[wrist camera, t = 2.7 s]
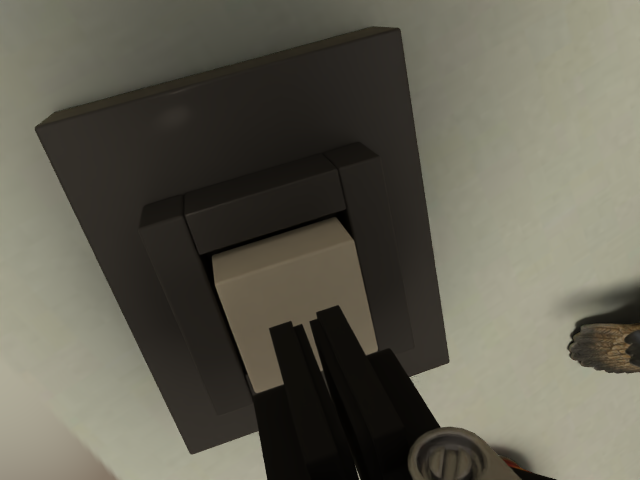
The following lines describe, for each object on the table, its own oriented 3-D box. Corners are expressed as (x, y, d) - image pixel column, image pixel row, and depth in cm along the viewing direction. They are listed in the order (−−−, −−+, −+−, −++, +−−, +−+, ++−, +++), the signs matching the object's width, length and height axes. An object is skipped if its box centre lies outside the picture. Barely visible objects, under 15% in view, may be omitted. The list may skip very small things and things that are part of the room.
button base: (52, 112, 15) (11, 143, 11) (374, 25, 16) (428, 28, 13) (189, 413, 20) (191, 499, 17) (426, 331, 21) (474, 394, 18)
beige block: (210, 254, 14) (214, 284, 12) (336, 215, 14) (354, 239, 13) (248, 357, 16) (255, 395, 14) (360, 319, 16) (379, 351, 14)
